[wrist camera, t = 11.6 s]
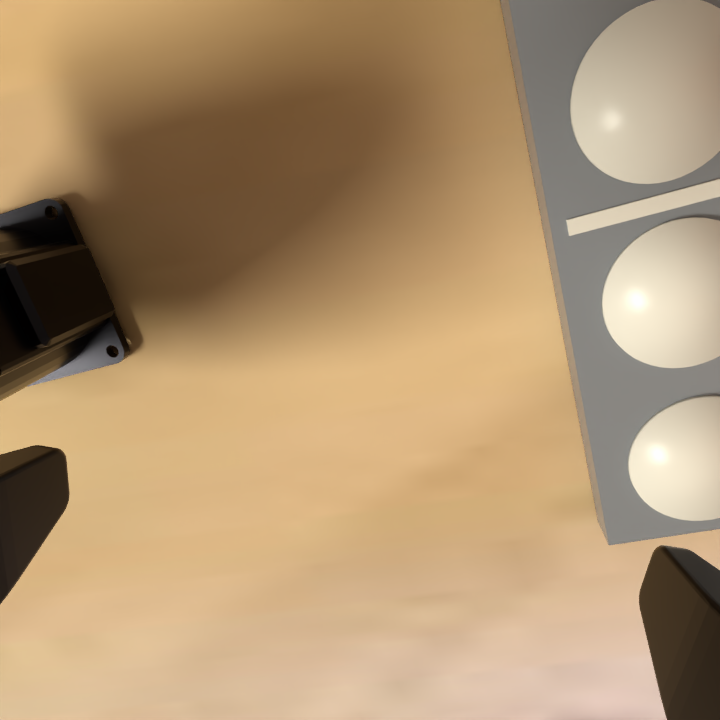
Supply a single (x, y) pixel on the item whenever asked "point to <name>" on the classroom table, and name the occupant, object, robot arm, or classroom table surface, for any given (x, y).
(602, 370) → the pattern board
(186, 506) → the classroom table surface
